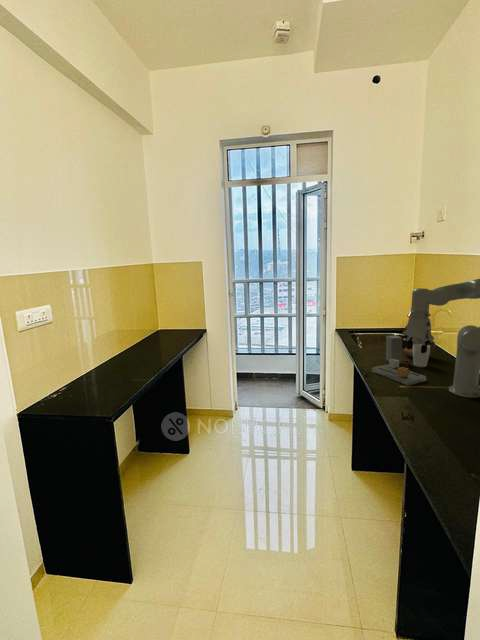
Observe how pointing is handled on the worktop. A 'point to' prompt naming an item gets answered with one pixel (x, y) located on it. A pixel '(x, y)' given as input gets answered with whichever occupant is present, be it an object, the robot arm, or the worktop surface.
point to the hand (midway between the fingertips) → (416, 350)
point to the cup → (420, 355)
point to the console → (392, 374)
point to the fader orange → (402, 372)
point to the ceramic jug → (416, 341)
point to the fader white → (393, 363)
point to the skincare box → (394, 348)
